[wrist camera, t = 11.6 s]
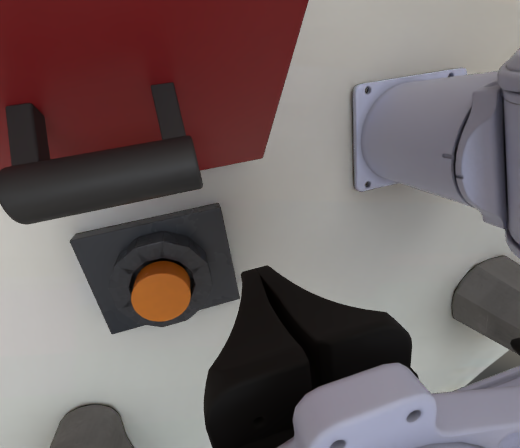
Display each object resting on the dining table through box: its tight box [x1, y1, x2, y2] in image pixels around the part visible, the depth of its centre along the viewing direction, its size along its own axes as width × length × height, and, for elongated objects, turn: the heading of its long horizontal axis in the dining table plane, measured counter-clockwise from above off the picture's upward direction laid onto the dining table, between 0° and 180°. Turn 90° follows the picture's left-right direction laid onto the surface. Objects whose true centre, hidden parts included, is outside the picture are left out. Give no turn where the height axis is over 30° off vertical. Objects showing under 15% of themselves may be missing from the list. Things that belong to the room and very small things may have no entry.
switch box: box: [70, 203, 240, 334], centre depth 21 cm, size 10×8×3 cm
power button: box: [131, 261, 191, 322], centre depth 19 cm, size 4×4×2 cm
